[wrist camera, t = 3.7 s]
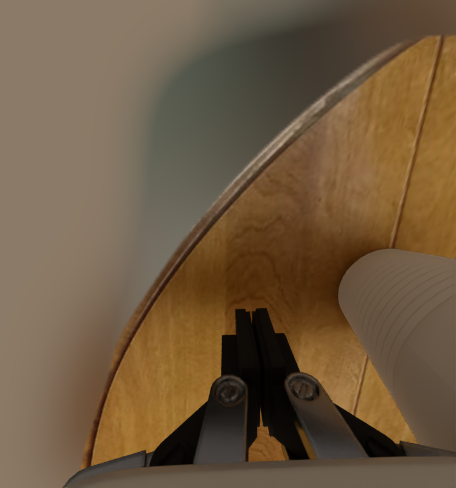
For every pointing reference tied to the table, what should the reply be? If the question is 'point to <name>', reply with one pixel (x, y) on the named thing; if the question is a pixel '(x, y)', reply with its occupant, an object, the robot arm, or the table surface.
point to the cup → (409, 334)
